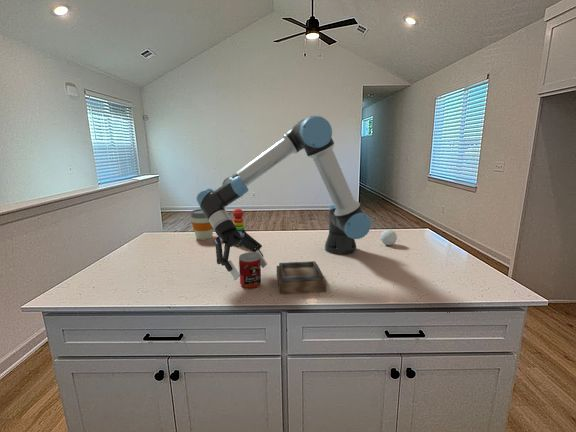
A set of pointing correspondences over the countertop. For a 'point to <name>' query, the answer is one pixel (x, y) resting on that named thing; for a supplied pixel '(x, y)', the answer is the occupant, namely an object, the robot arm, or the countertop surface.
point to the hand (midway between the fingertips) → (251, 271)
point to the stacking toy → (238, 220)
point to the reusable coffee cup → (201, 225)
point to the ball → (388, 237)
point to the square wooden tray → (300, 278)
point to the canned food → (250, 270)
